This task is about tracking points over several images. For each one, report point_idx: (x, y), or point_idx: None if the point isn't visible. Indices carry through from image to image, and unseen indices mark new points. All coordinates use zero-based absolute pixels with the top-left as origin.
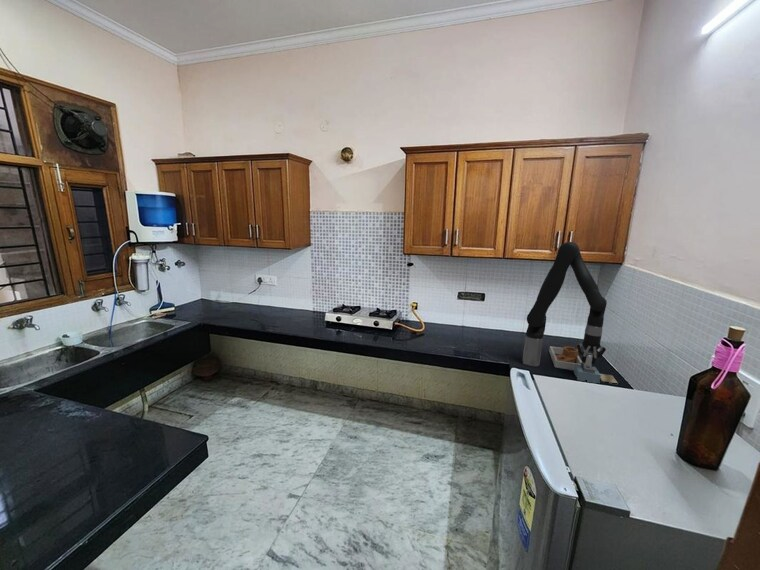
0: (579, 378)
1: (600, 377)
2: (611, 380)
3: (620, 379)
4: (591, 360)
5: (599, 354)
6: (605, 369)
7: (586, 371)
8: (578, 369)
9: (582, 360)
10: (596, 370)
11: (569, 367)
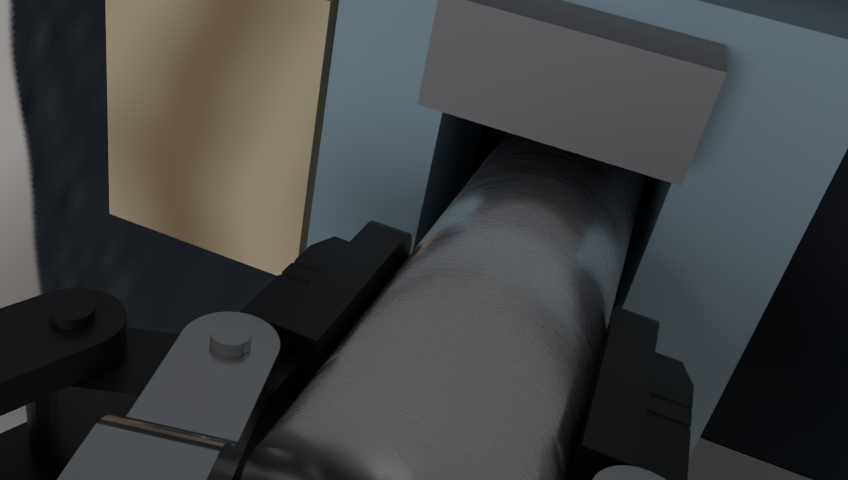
0: (824, 3)
1: (311, 129)
2: (173, 30)
3: (41, 133)
4: (412, 286)
5: (4, 380)
6: None
7: (669, 37)
8: (800, 197)
9: (677, 381)
10: (343, 172)
11: (715, 474)
